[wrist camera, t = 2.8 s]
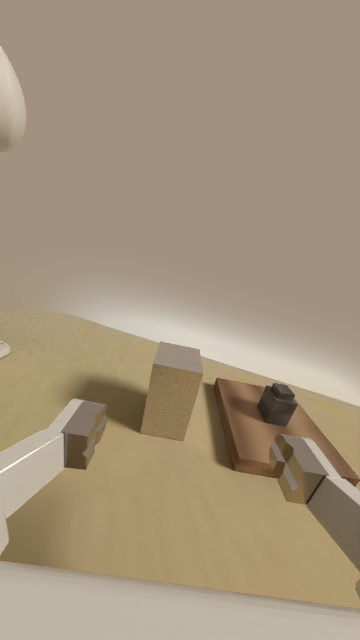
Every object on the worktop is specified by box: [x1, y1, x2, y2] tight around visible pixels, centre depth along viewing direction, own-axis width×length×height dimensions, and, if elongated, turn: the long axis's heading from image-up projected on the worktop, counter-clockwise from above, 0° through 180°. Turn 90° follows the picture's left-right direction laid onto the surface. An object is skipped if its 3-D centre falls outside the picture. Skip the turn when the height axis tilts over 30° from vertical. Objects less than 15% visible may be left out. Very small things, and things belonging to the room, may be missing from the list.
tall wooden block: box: [140, 342, 203, 441], centre depth 22 cm, size 5×5×10 cm
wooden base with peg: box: [214, 378, 360, 487], centre depth 25 cm, size 14×14×7 cm
